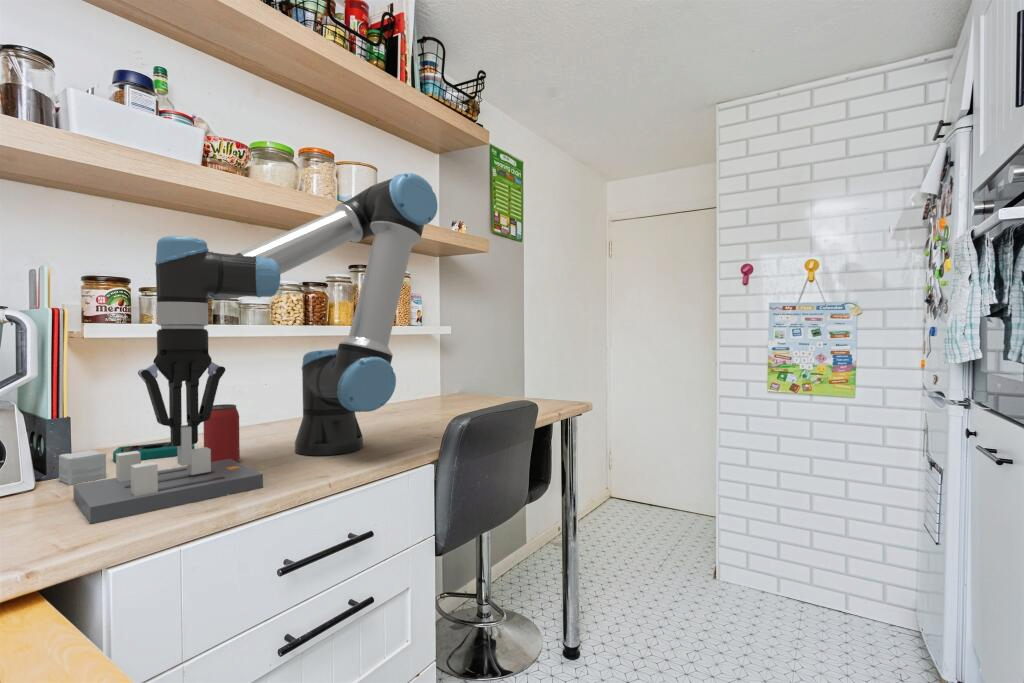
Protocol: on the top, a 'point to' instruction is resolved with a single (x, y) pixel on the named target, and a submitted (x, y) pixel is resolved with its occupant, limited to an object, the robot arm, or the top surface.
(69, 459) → the small box
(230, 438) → the beer can
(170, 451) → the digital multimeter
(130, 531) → the top surface
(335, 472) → the top surface
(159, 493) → the breaker panel
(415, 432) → the top surface
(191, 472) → the handle
